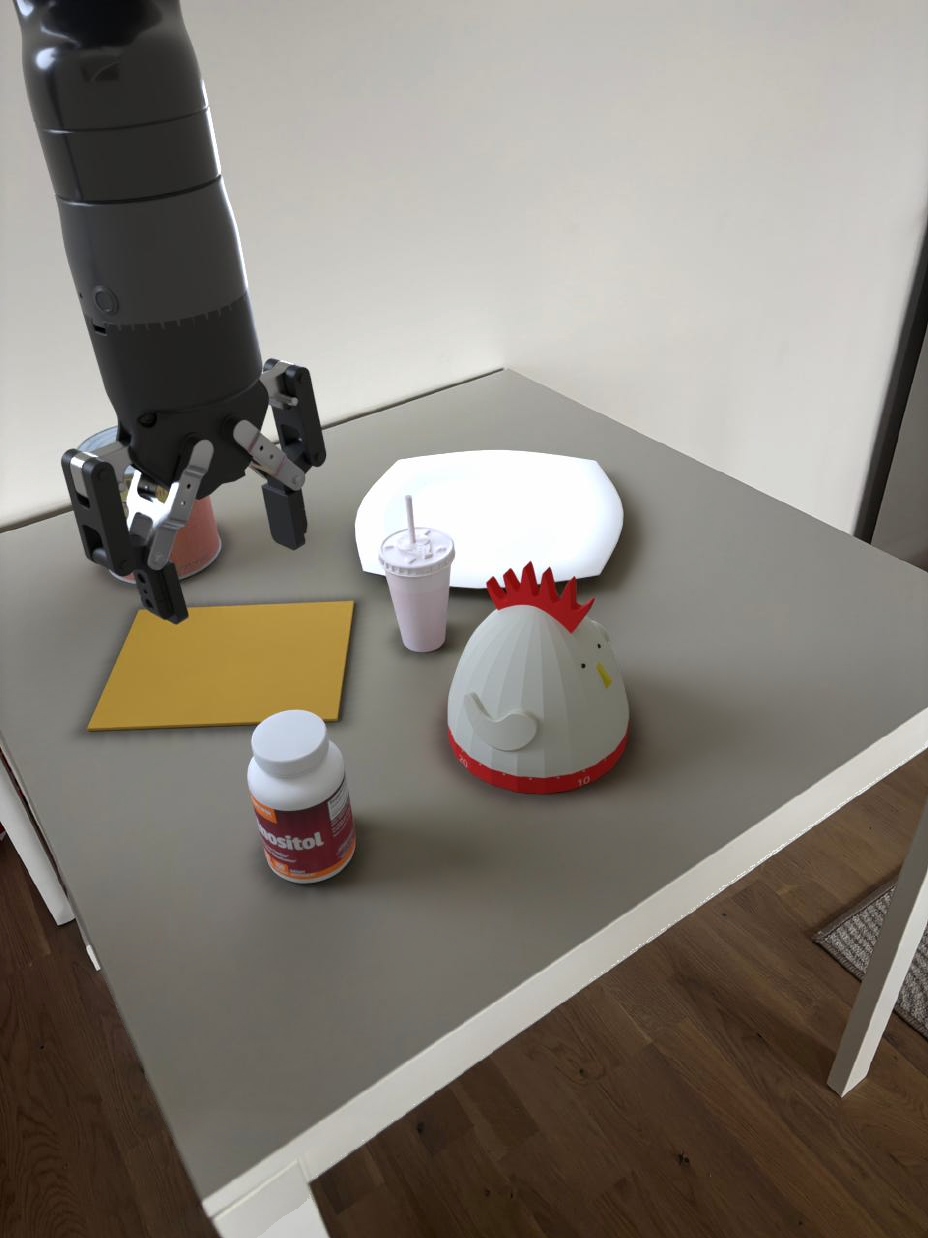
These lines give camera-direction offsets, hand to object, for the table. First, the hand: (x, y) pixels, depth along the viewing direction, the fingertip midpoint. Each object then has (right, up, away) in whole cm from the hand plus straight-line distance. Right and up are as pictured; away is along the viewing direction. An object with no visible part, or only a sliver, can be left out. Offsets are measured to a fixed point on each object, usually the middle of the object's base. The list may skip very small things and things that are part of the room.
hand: (233, 579), depth 54 cm
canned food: (-17, +4, +44) cm, 48 cm away
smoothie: (+9, -4, +31) cm, 33 cm away
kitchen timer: (+19, -11, +21) cm, 30 cm away
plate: (+16, +7, +45) cm, 48 cm away
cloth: (-7, -6, +29) cm, 31 cm away
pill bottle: (+3, -18, +13) cm, 22 cm away
